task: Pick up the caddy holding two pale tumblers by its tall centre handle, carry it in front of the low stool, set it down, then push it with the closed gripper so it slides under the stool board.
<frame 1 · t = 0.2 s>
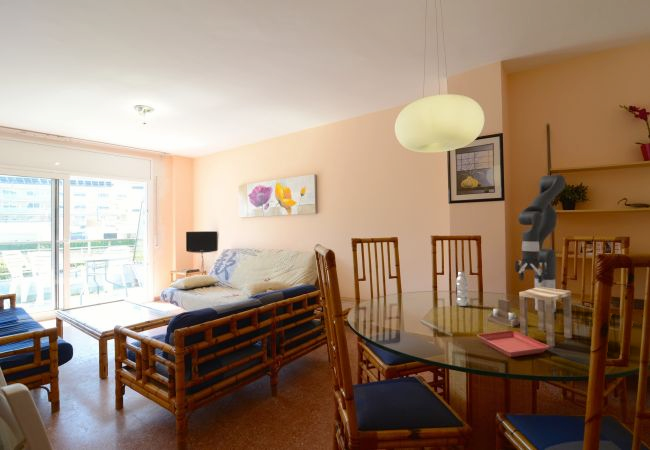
hand: (530, 281, 165), 17 cm above the table, tool pointing down, fingers open, 8 cm apart
plastic bottle: (462, 306, 187), on the table
plant saucer: (511, 348, 127), on the table
stool: (546, 337, 135), on the table
caddy: (504, 322, 156), on the table
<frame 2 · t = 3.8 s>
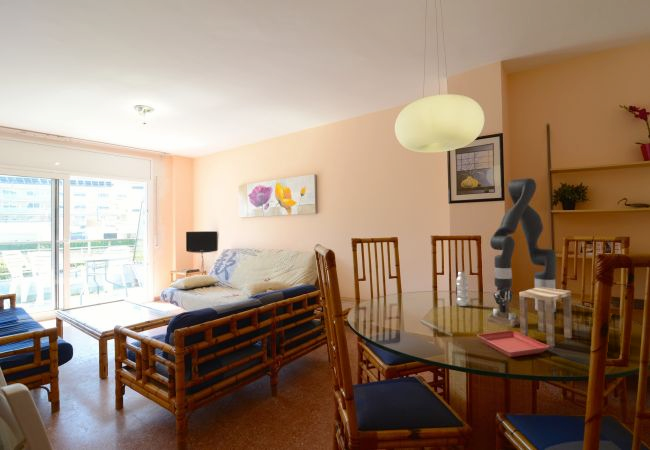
hand: (504, 312, 156), 5 cm above the table, tool pointing down, fingers closed on caddy
caddy: (504, 322, 156), on the table, touching gripper
everything else where it was.
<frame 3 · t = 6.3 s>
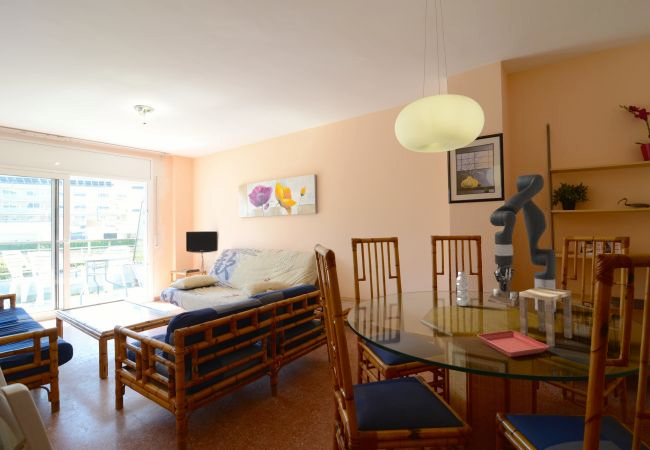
hand: (504, 290, 149), 17 cm above the table, tool pointing down, fingers closed on caddy
caddy: (505, 302, 149), point 12 cm above the table, touching gripper
everything else where it was.
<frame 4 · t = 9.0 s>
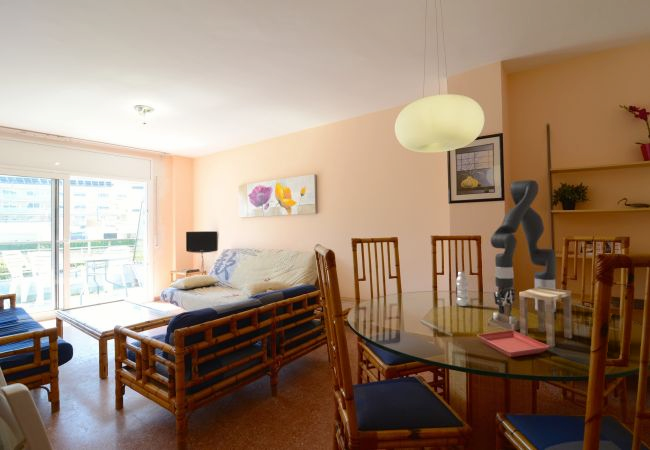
hand: (505, 312, 149), 7 cm above the table, tool pointing down, fingers open, 5 cm apart
caddy: (505, 326, 150), on the table
everything else where it was.
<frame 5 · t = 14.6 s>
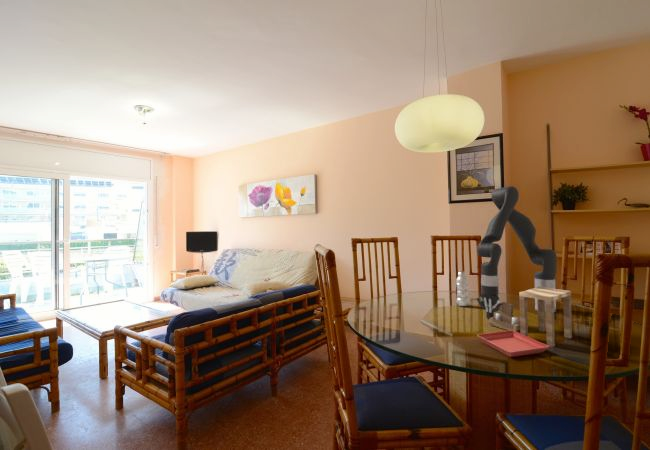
hand: (490, 319, 156), 2 cm above the table, tool pointing down, fingers closed
caddy: (506, 326, 149), on the table, touching gripper, hand
everything else where it was.
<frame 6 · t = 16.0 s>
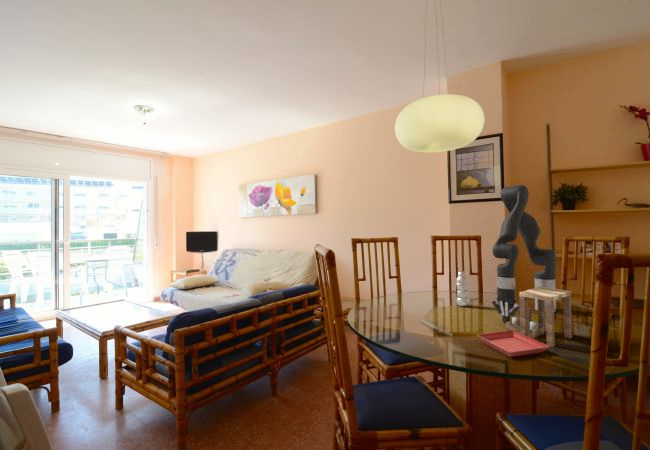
hand: (506, 323, 149), 2 cm above the table, tool pointing down, fingers closed
caddy: (524, 331, 142), on the table, touching gripper, hand
everything else where it was.
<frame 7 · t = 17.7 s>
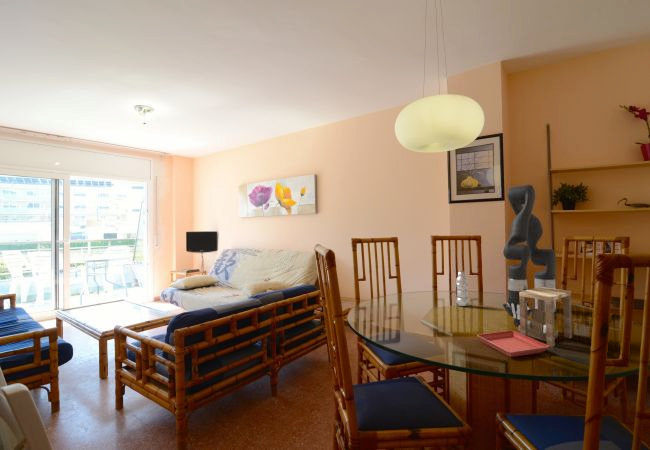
hand: (518, 326, 144), 2 cm above the table, tool pointing down, fingers closed
caddy: (537, 335, 137), on the table, touching gripper, hand
everything else where it was.
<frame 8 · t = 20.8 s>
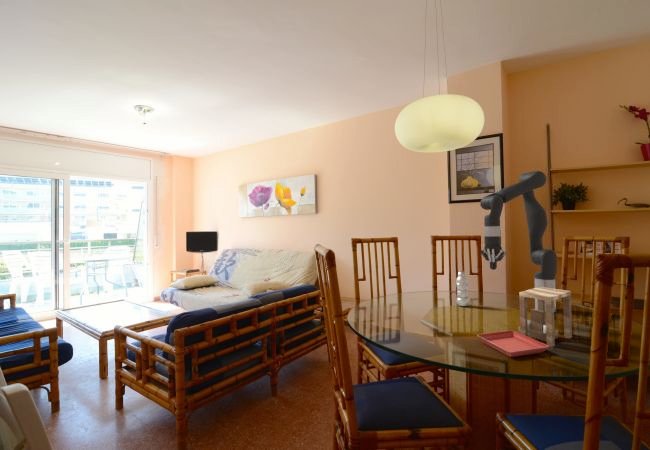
hand: (493, 269, 162), 25 cm above the table, tool pointing down, fingers closed
caddy: (537, 335, 137), on the table
everything else where it was.
at the end: caddy inside the target area (2.6 cm from its centre), on the table; caddy tilted 0°; the gripper is holding nothing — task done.
